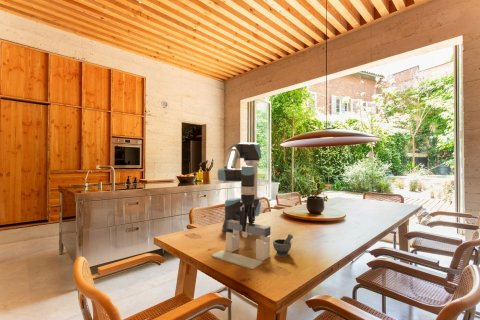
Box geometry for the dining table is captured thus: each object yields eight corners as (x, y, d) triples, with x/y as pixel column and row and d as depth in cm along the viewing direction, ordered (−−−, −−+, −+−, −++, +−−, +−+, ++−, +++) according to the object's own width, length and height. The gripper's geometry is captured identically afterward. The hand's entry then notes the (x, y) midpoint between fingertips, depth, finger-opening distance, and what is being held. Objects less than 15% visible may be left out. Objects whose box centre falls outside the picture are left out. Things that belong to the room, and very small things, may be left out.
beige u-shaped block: (256, 259, 126) (256, 238, 126) (263, 254, 132) (263, 235, 132) (262, 260, 124) (262, 240, 124) (269, 256, 130) (269, 236, 130)
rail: (226, 228, 139) (226, 220, 139) (231, 226, 144) (231, 219, 143) (265, 237, 125) (266, 228, 125) (270, 234, 129) (270, 226, 129)
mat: (211, 256, 129) (211, 255, 129) (222, 251, 136) (222, 250, 136) (252, 269, 114) (252, 267, 114) (262, 262, 121) (262, 261, 121)
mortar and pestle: (269, 254, 132) (270, 232, 132) (278, 249, 139) (278, 229, 139) (288, 260, 125) (288, 236, 125) (296, 254, 132) (296, 232, 132)
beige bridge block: (225, 250, 137) (226, 232, 137) (233, 246, 144) (234, 229, 144) (231, 252, 135) (231, 233, 135) (239, 248, 141) (239, 230, 141)
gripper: (244, 196, 125) (244, 241, 125) (261, 192, 139) (261, 233, 139) (232, 195, 129) (232, 238, 129) (250, 191, 143) (250, 230, 143)
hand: (247, 235), depth 134 cm, fingers closed on rail, 4 cm apart
